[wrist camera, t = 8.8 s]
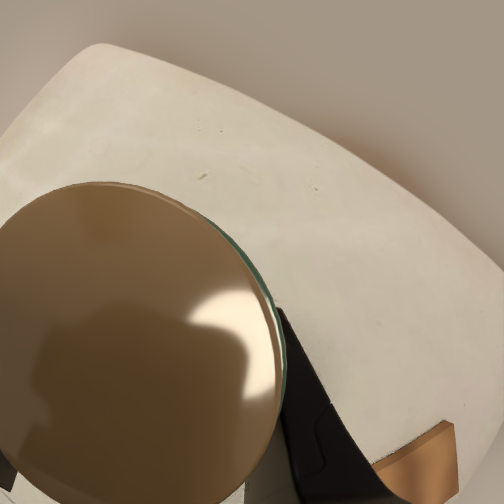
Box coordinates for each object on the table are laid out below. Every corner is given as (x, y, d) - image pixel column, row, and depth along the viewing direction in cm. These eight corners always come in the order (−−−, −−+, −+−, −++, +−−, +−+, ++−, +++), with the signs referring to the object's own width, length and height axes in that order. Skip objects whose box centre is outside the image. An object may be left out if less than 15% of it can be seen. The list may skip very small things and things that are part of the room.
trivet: (352, 545, 18) (357, 553, 16) (330, 484, 19) (336, 492, 18) (451, 487, 19) (459, 492, 18) (444, 419, 21) (453, 423, 20)
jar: (133, 398, 11) (0, 505, 2) (116, 279, 12) (-44, 203, 3) (254, 387, 11) (320, 521, 3) (236, 264, 12) (264, 139, 4)
